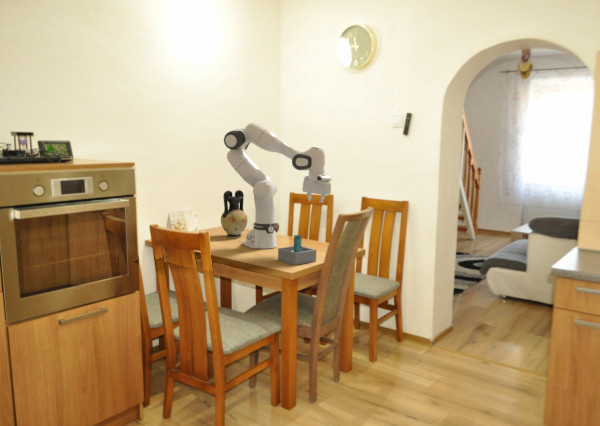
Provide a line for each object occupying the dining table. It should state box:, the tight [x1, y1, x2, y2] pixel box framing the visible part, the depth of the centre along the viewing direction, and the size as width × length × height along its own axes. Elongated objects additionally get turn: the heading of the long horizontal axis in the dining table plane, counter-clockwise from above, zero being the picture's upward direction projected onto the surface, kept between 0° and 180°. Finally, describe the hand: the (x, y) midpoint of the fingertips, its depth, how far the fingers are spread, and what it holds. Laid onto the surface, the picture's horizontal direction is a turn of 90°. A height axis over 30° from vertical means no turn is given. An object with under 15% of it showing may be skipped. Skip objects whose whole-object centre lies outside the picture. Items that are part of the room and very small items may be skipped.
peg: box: [293, 234, 303, 253], centre depth 241 cm, size 4×4×12 cm
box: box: [277, 245, 317, 266], centre depth 242 cm, size 14×14×6 cm
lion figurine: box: [274, 222, 280, 233], centre depth 302 cm, size 15×5×9 cm, turn 129°
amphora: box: [220, 189, 249, 239], centre depth 299 cm, size 18×17×30 cm
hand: (315, 201), depth 261 cm, fingers open, 8 cm apart
